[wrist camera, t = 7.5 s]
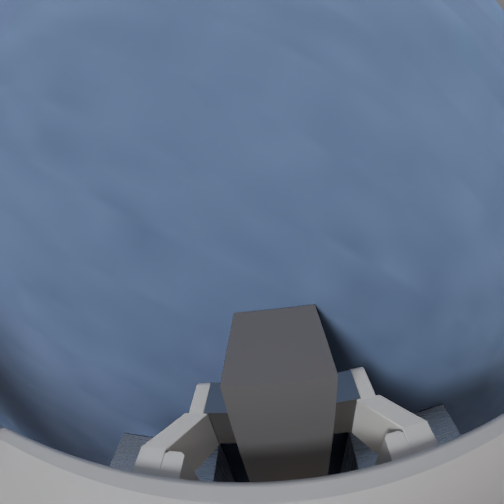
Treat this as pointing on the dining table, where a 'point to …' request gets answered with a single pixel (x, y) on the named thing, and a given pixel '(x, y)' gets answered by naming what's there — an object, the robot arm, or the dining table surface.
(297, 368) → the grey and tan bar
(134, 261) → the dining table surface
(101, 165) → the dining table surface
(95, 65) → the dining table surface
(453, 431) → the grey bridge block
